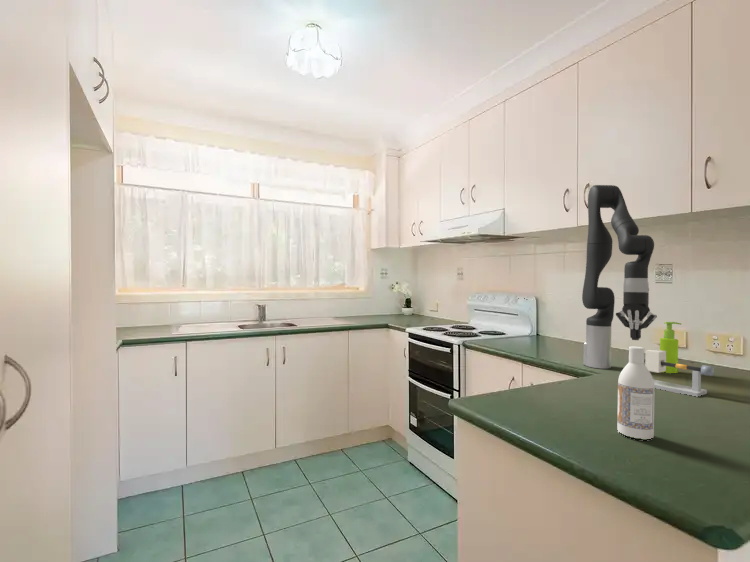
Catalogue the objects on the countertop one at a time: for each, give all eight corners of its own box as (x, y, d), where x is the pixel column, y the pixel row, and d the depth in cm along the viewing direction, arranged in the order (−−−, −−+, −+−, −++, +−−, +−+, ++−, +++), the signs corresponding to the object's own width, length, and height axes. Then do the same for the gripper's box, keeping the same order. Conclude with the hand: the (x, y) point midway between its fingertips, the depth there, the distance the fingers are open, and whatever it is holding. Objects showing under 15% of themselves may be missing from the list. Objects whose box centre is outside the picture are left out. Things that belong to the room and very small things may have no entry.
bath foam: (619, 427, 96) (621, 343, 96) (655, 435, 91) (656, 347, 91) (614, 435, 90) (616, 347, 90) (651, 444, 86) (653, 350, 86)
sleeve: (645, 370, 137) (645, 350, 137) (652, 368, 140) (652, 349, 140) (658, 372, 133) (658, 352, 133) (665, 370, 136) (666, 351, 136)
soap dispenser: (683, 374, 156) (684, 323, 156) (663, 373, 157) (664, 322, 157) (675, 371, 162) (676, 321, 162) (656, 369, 163) (657, 320, 163)
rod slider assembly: (627, 382, 140) (627, 355, 140) (638, 380, 145) (638, 353, 145) (706, 399, 122) (707, 367, 122) (716, 395, 126) (716, 365, 126)
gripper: (611, 290, 146) (610, 338, 145) (652, 291, 135) (651, 343, 134) (621, 291, 150) (620, 337, 149) (661, 291, 139) (661, 341, 138)
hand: (635, 339), depth 142 cm, fingers closed
